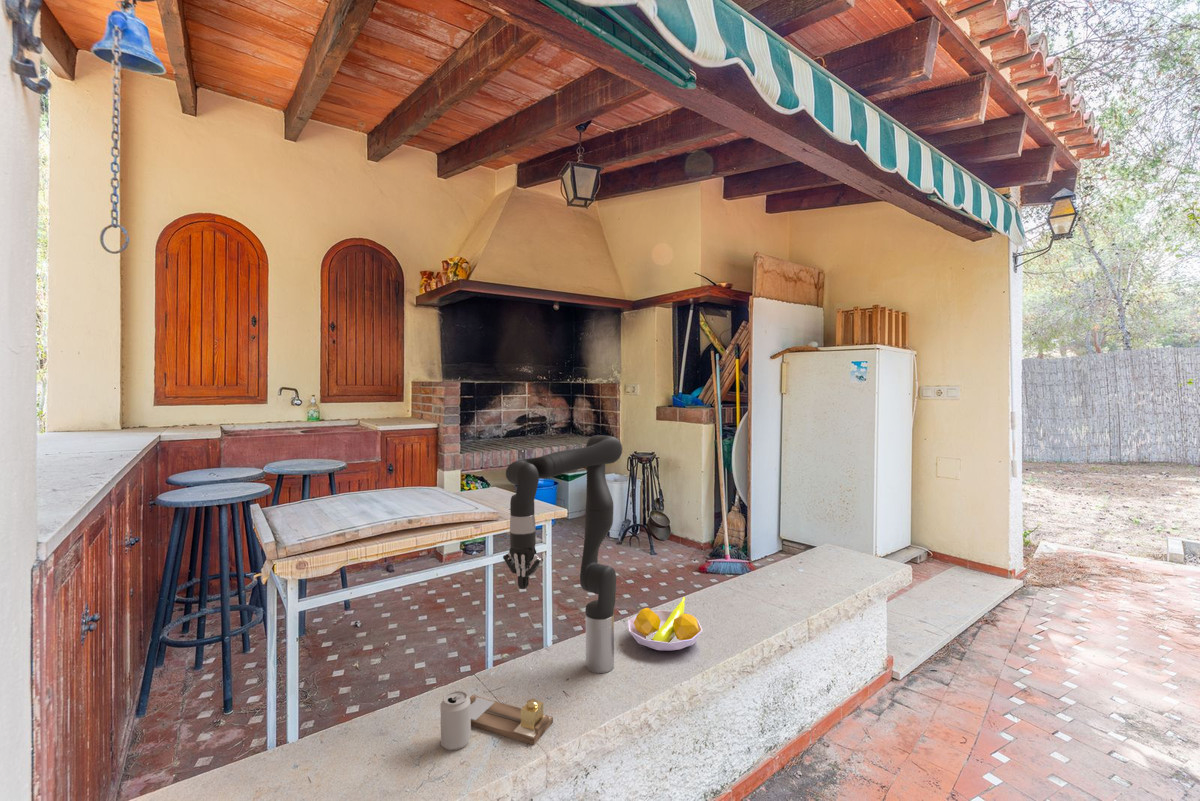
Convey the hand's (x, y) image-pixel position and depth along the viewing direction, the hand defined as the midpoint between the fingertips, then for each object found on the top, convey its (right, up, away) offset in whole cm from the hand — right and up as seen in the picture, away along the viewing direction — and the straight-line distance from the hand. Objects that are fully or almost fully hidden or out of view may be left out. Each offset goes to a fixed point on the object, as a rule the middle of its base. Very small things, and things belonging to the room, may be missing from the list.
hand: (523, 588), depth 157 cm
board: (-4, -32, -12) cm, 35 cm away
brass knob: (+5, -30, -16) cm, 34 cm away
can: (-14, -33, -20) cm, 41 cm away
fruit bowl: (+47, -31, +35) cm, 66 cm away
